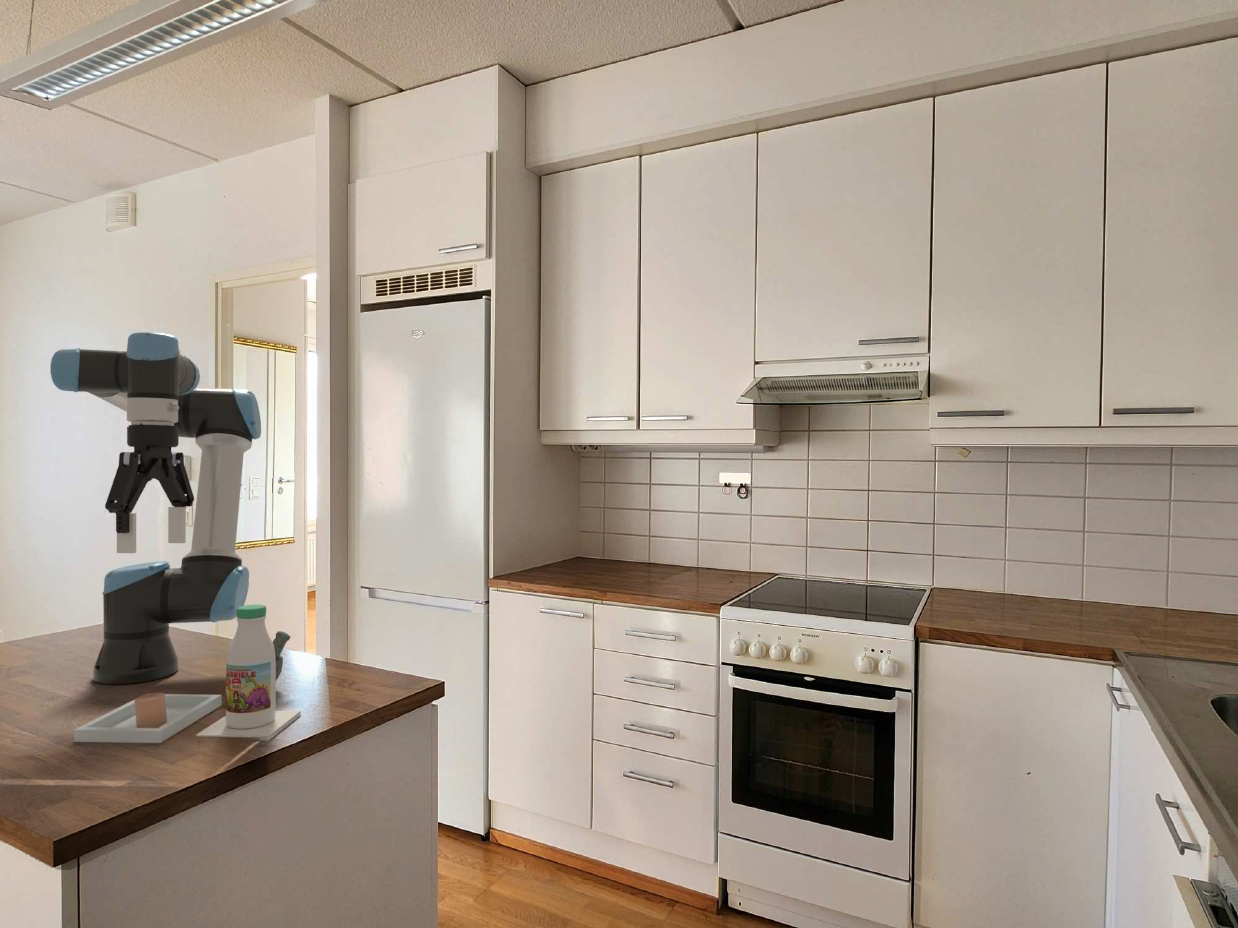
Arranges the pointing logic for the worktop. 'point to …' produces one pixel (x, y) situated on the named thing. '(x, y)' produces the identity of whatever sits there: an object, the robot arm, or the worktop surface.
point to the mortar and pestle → (279, 650)
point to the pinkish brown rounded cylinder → (150, 710)
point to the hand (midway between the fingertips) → (153, 547)
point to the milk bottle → (250, 671)
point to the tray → (123, 728)
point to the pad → (262, 732)
